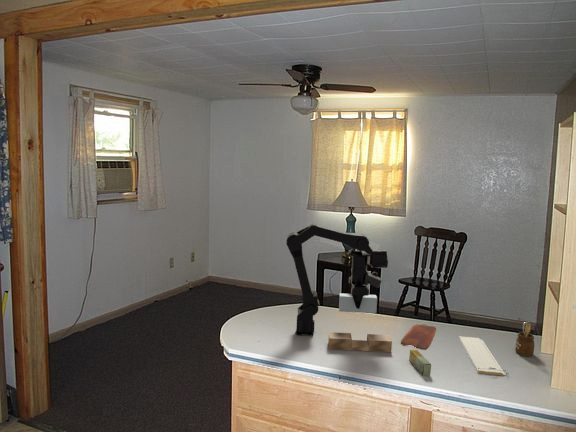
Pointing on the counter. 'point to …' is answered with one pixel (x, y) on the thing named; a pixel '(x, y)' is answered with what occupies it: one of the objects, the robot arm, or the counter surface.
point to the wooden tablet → (419, 336)
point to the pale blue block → (349, 305)
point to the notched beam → (360, 342)
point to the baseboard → (481, 356)
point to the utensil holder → (525, 342)
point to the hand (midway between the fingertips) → (357, 306)
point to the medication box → (420, 362)
